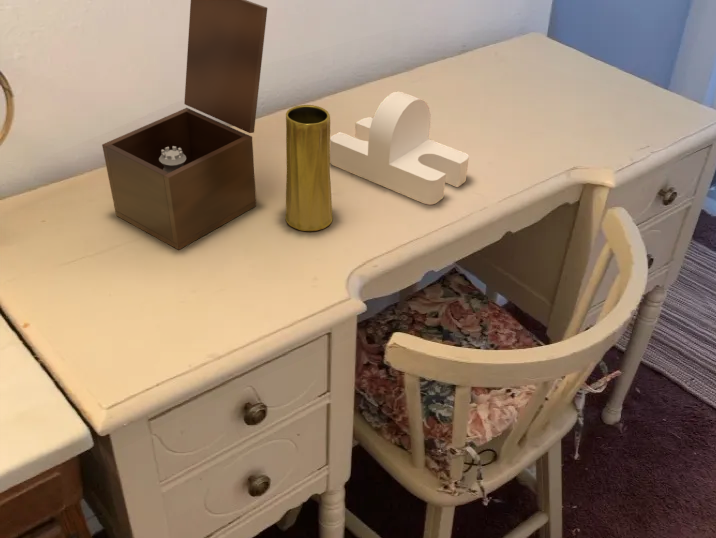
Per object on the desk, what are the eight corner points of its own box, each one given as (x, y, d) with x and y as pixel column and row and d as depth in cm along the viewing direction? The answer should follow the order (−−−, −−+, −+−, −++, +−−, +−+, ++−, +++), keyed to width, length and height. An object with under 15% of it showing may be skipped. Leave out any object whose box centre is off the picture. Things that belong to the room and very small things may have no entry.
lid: (263, 7, 94) (267, 7, 95) (191, -18, 99) (196, -18, 100) (249, 133, 102) (254, 132, 103) (184, 104, 107) (188, 103, 108)
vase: (322, 236, 105) (322, 130, 95) (277, 225, 106) (273, 120, 97) (339, 212, 109) (341, 108, 100) (296, 202, 111) (294, 99, 101)
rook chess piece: (190, 196, 109) (183, 139, 103) (202, 213, 106) (195, 155, 101) (157, 204, 107) (147, 146, 102) (168, 221, 104) (159, 163, 99)
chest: (178, 250, 102) (168, 177, 95) (115, 215, 106) (101, 144, 99) (256, 206, 110) (252, 136, 103) (194, 175, 114) (186, 107, 108)
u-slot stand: (431, 206, 112) (439, 130, 104) (326, 162, 119) (326, 88, 111) (469, 179, 117) (479, 105, 110) (367, 138, 125) (369, 67, 117)
